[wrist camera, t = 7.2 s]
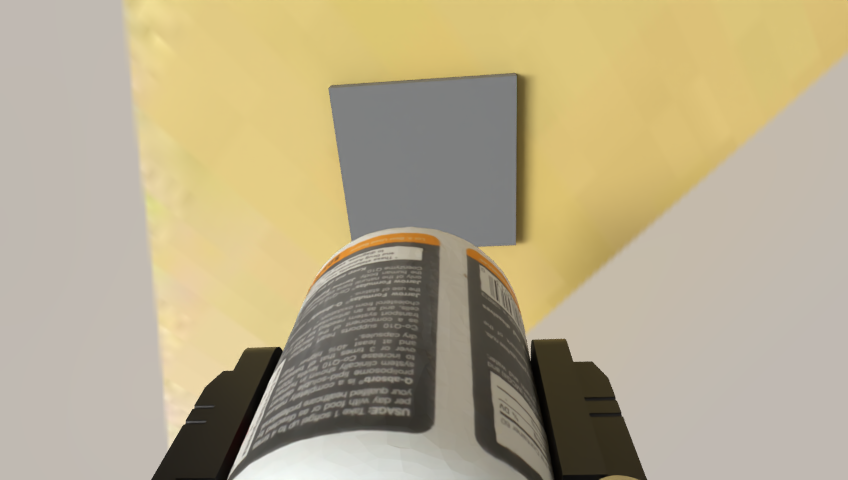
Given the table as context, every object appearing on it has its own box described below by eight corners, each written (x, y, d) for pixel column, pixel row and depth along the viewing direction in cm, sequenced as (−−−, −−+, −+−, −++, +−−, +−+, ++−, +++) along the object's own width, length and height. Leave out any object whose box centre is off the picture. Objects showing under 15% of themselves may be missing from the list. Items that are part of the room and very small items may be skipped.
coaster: (331, 85, 23) (328, 88, 23) (515, 73, 23) (516, 75, 22) (355, 246, 27) (353, 251, 26) (514, 239, 26) (515, 244, 26)
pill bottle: (301, 370, 16) (105, 890, 7) (325, 195, 13) (56, 671, 4) (489, 407, 16) (532, 951, 7) (549, 242, 13) (733, 779, 5)
